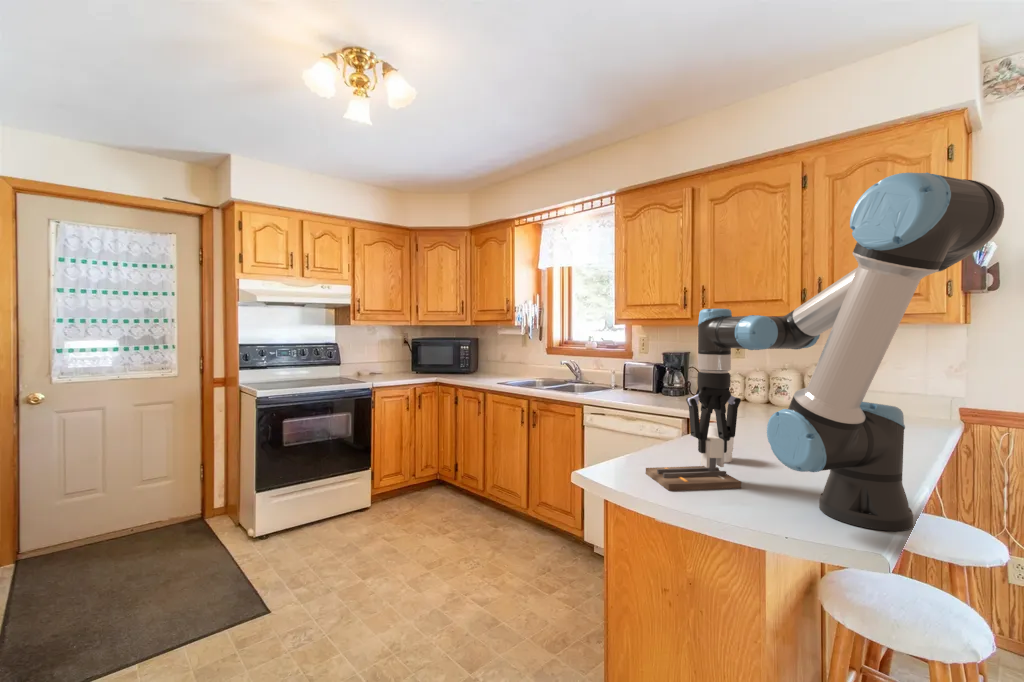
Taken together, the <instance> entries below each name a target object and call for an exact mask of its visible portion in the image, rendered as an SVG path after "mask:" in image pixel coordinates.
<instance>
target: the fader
mask: <svg viewBox="0 0 1024 682" xmlns="http://www.w3.org/2000/svg"><path fill="white" fill-rule="evenodd" d="M707 440H709V441H710V467H709V471H716V467H717V465H716V458H723V439H721V438H718V437H716V436H707Z"/></svg>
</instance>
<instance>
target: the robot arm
mask: <svg viewBox="0 0 1024 682" xmlns="http://www.w3.org/2000/svg"><path fill="white" fill-rule="evenodd" d="M850 214H851V215H850V219H849V228H850V229H851V230H852V232H851V235H852V238H853V239H854V240H855V241H856V243H855V246H854V248H853V251H852V253H851V254H852V256H853V257H854V259H855V260H856V262H857V267H856V268H854V269H853V270H851V271H850V272H849V273H847V274H845V275H844V276H842V277H841V278H839V279H838V280H836V281H835V282H834V283H832V284H831V285H829V286H827V287H826V288H825V289H823V290H821V291H820V292H818V293H816V294H815V295H814V296H813V297H812V298H810V299H808V300H807V301H805V302H804V303H802V304H801V305H799V306H798V307H796V308H795V309H793V310H791V311H790V312H789V313H786V314H785V315H783V316H773V315H771V316H768V315H767V316H765V315H758V314H757V315H755V314H751V315H742V316H741V315H740V316H739V315H738V316H732V314H733V313H732V310H731V309H730V308H703V309H701V310H700V311H699V314H698V315H699V316H698V323H697V324H698V325H697V370H699V371H698V372H697V377H696V378H697V379H696V380H697V381H696V382H697V383H696V384H697V391H696V393H695V395H693V396H691V397H689V396H688V397H686V399H685V401H686V403H687V405H688V416H689V417H688V418H689V428H690V431H689V432H690V436H691V437H694V438H696V439H697V442H698V443H697V445H698V447H697V449H698V450H697V451H698V453H700V466H705V467H707V468H708V467H710V441H709V440H707V435H708V429H709V423H711V416H712V414H713V410H714V412H715V420H716V421H715V422H716V423H717V429H718V436H719V438H721V439H723V458H716V466H717V467H720V468H724V466H725V463H724V453H726V452H727V441H729V440H730V438H731V437H734V438H735V437H736V430H737V419H738V411H739V410H738V408H739V407H740V404H741V402H742V400H741V398H740V397H735V396H733V395H732V393H731V390H730V388H731V374H730V372H729V371H731V370H732V365H731V364H732V357H731V356H732V349H739V350H740V349H741V350H748V351H761V350H762V351H763V350H774V349H776V350H777V349H779V350H783V349H784V350H802V349H808V348H810V347H813V346H814V345H816V343H817V342H818V340H819V339H820V337H821V334H823V333H824V332H826V331H828V330H830V329H831V330H830V331H829V334H828V337H827V340H826V341H825V344H824V346H823V349H822V351H821V354H820V355H819V358H818V360H817V364H816V365H815V368H814V370H813V373H812V375H811V377H810V380H809V382H808V385H807V387H803V388H800V389H798V390H796V391H795V392H794V394H793V396H792V398H791V400H790V402H789V406H788V407H787V408H783V409H780V410H778V411H776V412H773V414H772V415H771V416H770V418H769V420H768V421H767V425H766V426H767V427H766V437H767V441H768V444H769V445H770V450H771V451H772V453H773V455H774V456H775V457H776V458H777V460H778V461H779V462H780V463H782V465H784V466H786V467H787V468H788V469H790V470H792V471H796V472H806V473H807V472H809V473H818V472H822V471H829V474H828V476H827V479H826V482H825V484H824V487H823V492H821V493H820V495H819V501H818V503H819V505H818V508H819V510H820V511H821V512H822V514H825V515H826V516H828V517H830V518H832V519H834V520H836V521H840V522H843V523H845V524H849V525H852V526H857V527H862V528H866V529H871V530H878V531H889V532H891V531H892V532H896V531H897V532H898V531H900V532H901V531H907V530H910V529H912V528H913V527H914V514H913V510H912V509H911V508H910V507H909V502H908V501H909V499H908V497H907V493H906V490H905V488H904V486H903V467H904V465H903V463H904V441H905V440H904V439H905V429H906V425H905V419H904V416H905V415H904V412H903V411H902V409H901V408H899V407H897V406H895V405H890V404H889V405H888V404H881V403H874V402H868V401H864V398H865V397H866V394H867V392H868V391H869V388H870V386H871V385H872V382H873V380H874V377H875V376H876V374H877V371H878V370H879V367H880V365H881V363H882V362H883V359H884V357H885V355H886V353H887V351H888V349H889V347H890V345H891V343H892V341H893V338H894V336H895V335H896V332H897V330H898V327H899V326H900V323H901V321H902V320H903V318H904V315H905V313H906V311H907V309H908V307H909V304H910V303H911V301H912V298H913V297H914V295H915V292H916V291H917V288H918V286H919V284H920V282H921V280H922V279H924V278H925V277H928V276H930V275H933V274H935V273H940V272H943V271H945V270H946V269H948V268H951V267H952V266H954V265H955V264H957V263H959V262H960V261H962V260H964V259H966V258H967V257H969V256H970V255H972V254H974V253H976V252H977V251H979V250H980V249H981V248H984V246H985V245H987V244H988V243H989V242H990V241H991V240H992V239H993V238H994V237H995V235H996V234H997V233H998V232H999V230H1000V229H1001V226H1002V225H1003V221H1004V218H1005V205H1004V202H1003V200H1002V197H1001V196H1000V194H999V193H998V192H997V191H996V190H995V189H993V187H991V186H990V185H988V184H985V183H983V182H981V181H977V180H973V179H963V178H957V177H951V176H945V175H942V174H941V175H940V174H937V173H930V172H900V173H895V174H892V175H889V176H886V177H884V178H883V179H881V180H879V181H878V182H876V183H874V184H873V185H871V186H869V188H868V189H866V190H865V192H863V194H862V195H861V196H860V197H859V198H858V200H857V201H856V203H855V205H854V207H853V209H852V211H851V213H850ZM699 403H700V414H699V406H698V405H699ZM726 404H728V405H726ZM726 407H727V408H726Z"/></svg>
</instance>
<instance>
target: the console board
mask: <svg viewBox="0 0 1024 682" xmlns="http://www.w3.org/2000/svg"><path fill="white" fill-rule="evenodd" d="M645 474H646V475H647V476H648V477H649V478H651V479H652V480H654V482H656V483H657V484H659V485H660V486H661V487H663V488H664V489H666V490H667V491H669V492H671V491H694V490H698V491H699V490H722V489H741V488H742V481H741V480H739V479H738V478H735V477H733V476H731V475H730V474H728V473H727V471H726V470H720V468H719V466H716V471H709V467H708V468H707V467H705V466H703V465H699V466H698V465H693V466H691V465H690V466H689V465H688V466H661V467H645Z"/></svg>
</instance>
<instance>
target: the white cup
mask: <svg viewBox="0 0 1024 682" xmlns="http://www.w3.org/2000/svg"><path fill="white" fill-rule="evenodd" d="M707 436H716V437H718V438H719V436H718V429H717V422H710V423H709V429H708V435H707ZM734 442H735V437H731V438H730V440H729V441H727V452H726V453H724V464H726V463H731V462H732V461H733V451H734V444H735V443H734Z"/></svg>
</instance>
